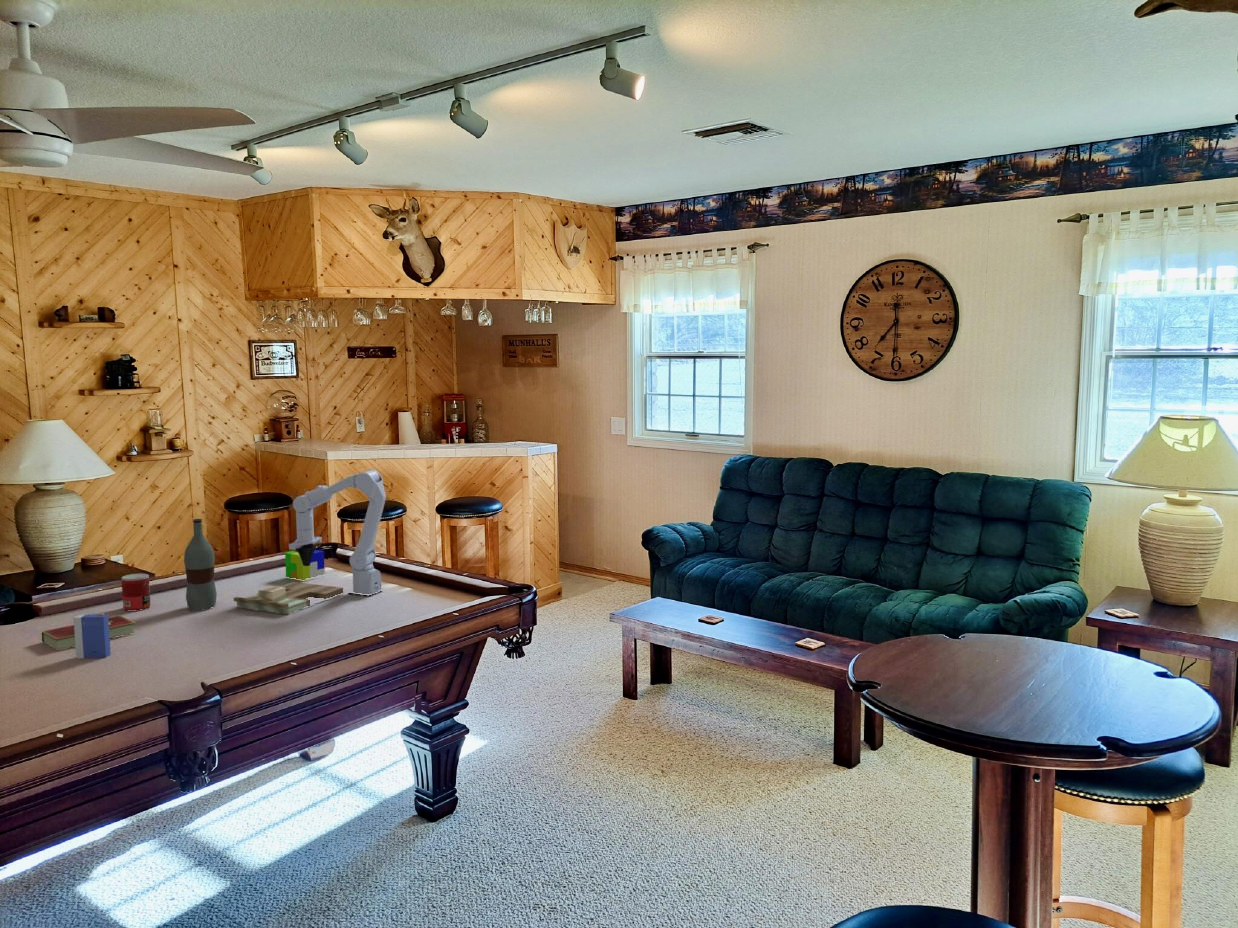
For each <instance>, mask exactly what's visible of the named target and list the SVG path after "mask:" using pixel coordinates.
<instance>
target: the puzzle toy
mask: <svg viewBox="0 0 1238 928" xmlns="http://www.w3.org/2000/svg"><path fill="white" fill-rule="evenodd" d="M284 560H285V578H286V577H289V578H296V579H301V580H305V579H306V578H311V577H316V576H318V575H323V574H325V573H326V571H325V570H326V568H325V551H324V550H319V549H315V551H314V553H313V555H312V559H311V563H310V566H303V563H302V560H301V557H300V555H299V553H298V552H297V550H296V549H295V550H293V551H292V550H291V551H288V552H285V553H284ZM325 575H326V574H325Z"/></svg>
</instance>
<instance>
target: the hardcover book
mask: <svg viewBox="0 0 1238 928" xmlns="http://www.w3.org/2000/svg"><path fill="white" fill-rule="evenodd" d="M108 621H109V636H110V638H113V637H116V636H121V635H127V634H130V633H134V634H135V625H136V622H135V621H134V620H131V619H128V618H126V617H124V616H121V615H117V616H111V617H108ZM74 631H75V629H74V624H73V625H67V626H62V627H56V628H53V629H48V630H42V631H41V642H45V643H44V644H46V645H47V644H48V645H47V646H49V645H51V646H50V648H52V647H53V648H52V649H54V648H55V649H54V650H55V651H57V650H60V651H63V650H62V649H64V650H67V649H68V648H69V649H71V648H70V647H73V648H76V647H75V632H74ZM127 636H128V635H127Z"/></svg>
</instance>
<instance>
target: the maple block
mask: <svg viewBox="0 0 1238 928" xmlns="http://www.w3.org/2000/svg"><path fill="white" fill-rule="evenodd" d="M257 594H258V598H259V600H265V601H272V602H279V601H282V600H285V599H286V589H285V587H279V586H276V585H275V586H274V585H270V586H267V587H264V588H261V589H258V590H257Z"/></svg>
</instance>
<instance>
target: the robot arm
mask: <svg viewBox="0 0 1238 928" xmlns="http://www.w3.org/2000/svg"><path fill="white" fill-rule="evenodd" d="M348 488H353V489H356V488H357V489H358V490H359V491H360V492H362V493H364V495H366V497H367V498H368V500H369V503H368V506H367V511H366V514H365V517H364V521H363V526H362V529H361V533H360V537H359V541H358V543H357V544H356V546H355V548H354V551H353V553H352V554H351V555H350V557H349V559H348V561H349V564H350V566H351V568H352V591H353V592H355V593H362V594H373V593H375V592H378V591H379V590H382V574H381V571H380V570H378V569H376V568H375V567H374V564H373V563H374V562H375V560H376V556H377V555H376V548H377V546H376V545H375V540H376V537H377V533H378V531H379V525H380V522H381V518H382V515H383V512H384V507H385V503H386V500H387V493H386V489H385V486H384V478H383V477H382V475H381V474H380V473H379V471H377V470H375V469H369V470H367V471H364V472H360V473H355V474H352V475H350V476H349V475H348V476H347V477H345V478H343V479H341V480H339V481H337V482H336V483H334V484H331V485H329V486H327V485H324V484H323V485H317V486H315V488H314V489H313V490H310V491H306V492H304V494H303V495H298V496H296V498H294V500H293V502H292V507H293V509H294V511H295V516H296V517H295V518H296V539H295V541H293V542H292V543H288V548H289V550H291V551H292V550H293V551H296V550H297V552H298V553H299V555H300V557H301V560H302V563H303V566H310V563H311V559H312V555H313V553H314V551H315V550H317V549H316V548H317V545H314V544H317V543H318V544H319V543H322V542H323V540H322V536H315V530H314V529H315V528H314V527H315V526H314V509H315V508H316V507H318V506H321V505H323V504H324V503H327V502H328V501H331V500H332V497H333V495H334V494H337V493H340V492H343V491H344V490H346V489H348Z"/></svg>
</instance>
